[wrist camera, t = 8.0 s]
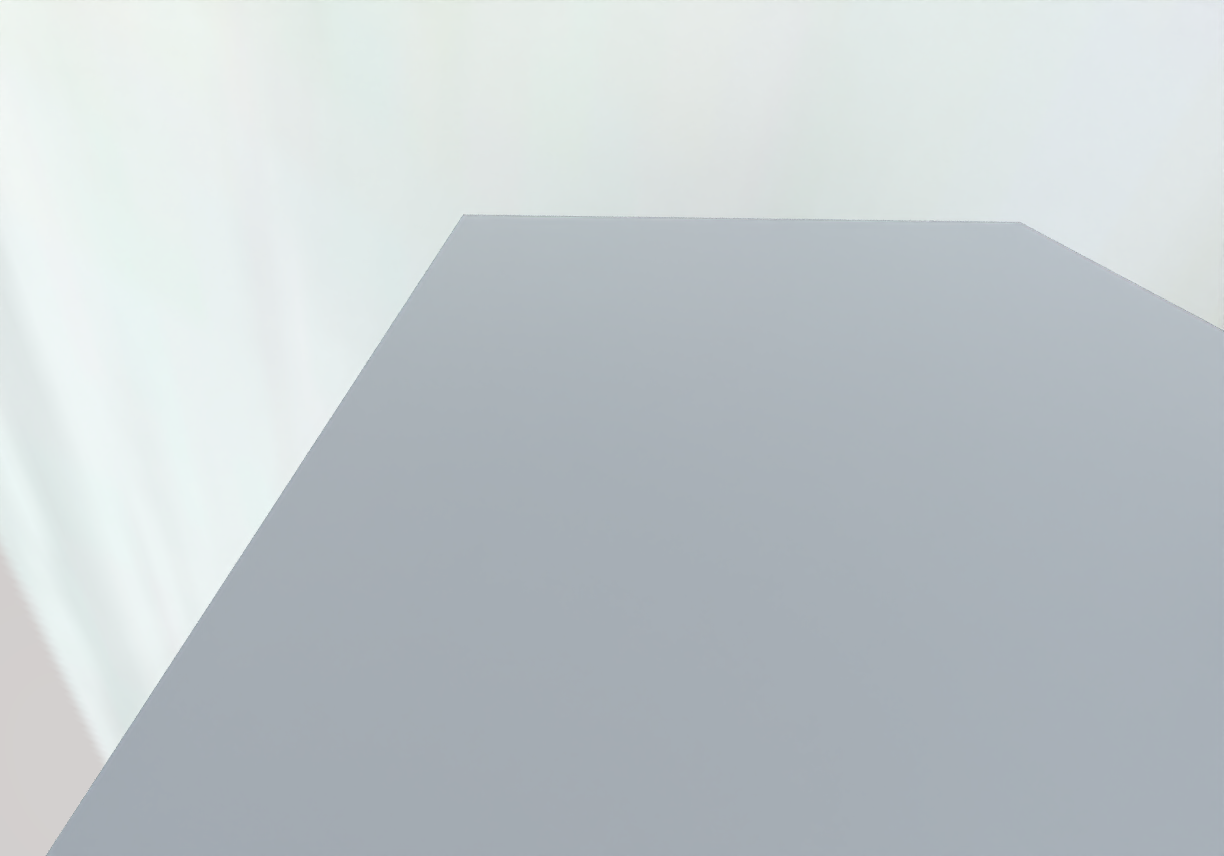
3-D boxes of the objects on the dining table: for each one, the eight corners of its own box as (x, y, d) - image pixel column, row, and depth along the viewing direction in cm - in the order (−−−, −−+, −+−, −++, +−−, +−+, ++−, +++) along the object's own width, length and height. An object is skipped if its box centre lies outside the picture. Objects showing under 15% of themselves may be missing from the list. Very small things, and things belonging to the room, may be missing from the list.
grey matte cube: (1020, 221, 10) (2368, 941, 2) (896, 620, 14) (1247, 1364, 6) (462, 214, 10) (-19, 954, 2) (499, 618, 14) (372, 1376, 6)
